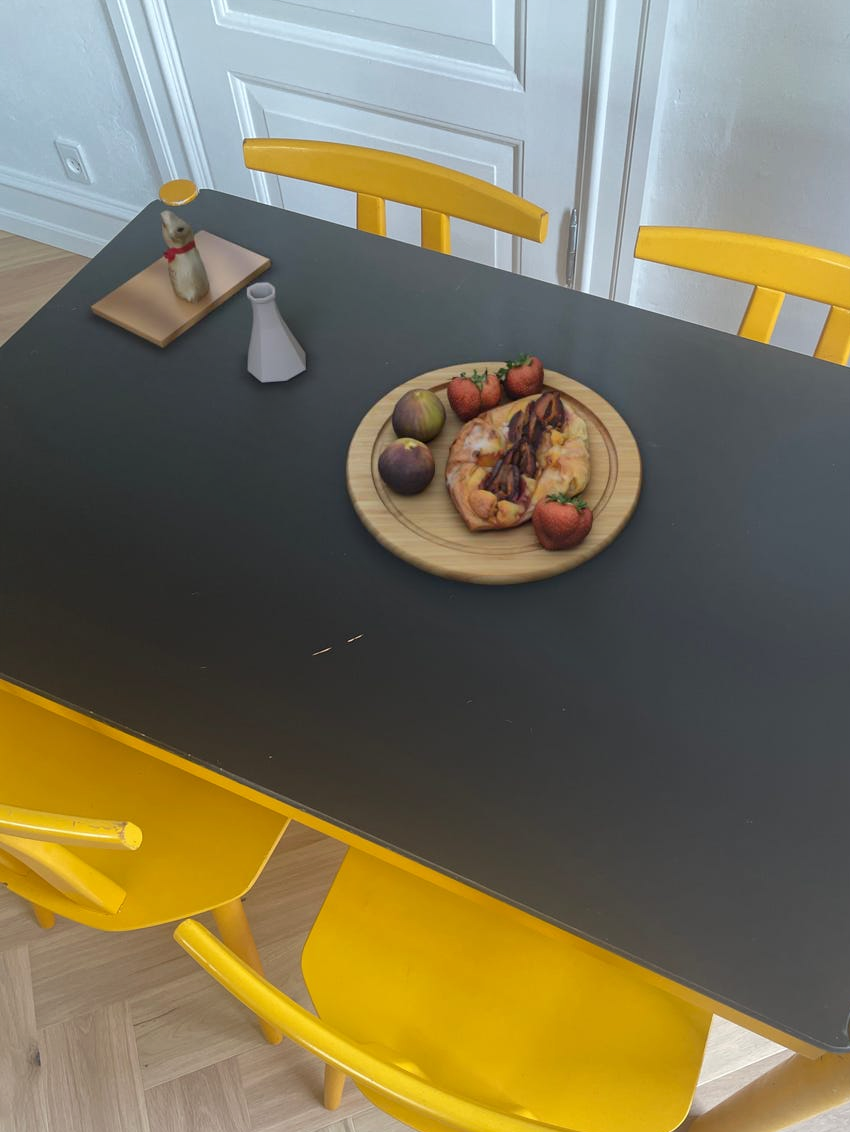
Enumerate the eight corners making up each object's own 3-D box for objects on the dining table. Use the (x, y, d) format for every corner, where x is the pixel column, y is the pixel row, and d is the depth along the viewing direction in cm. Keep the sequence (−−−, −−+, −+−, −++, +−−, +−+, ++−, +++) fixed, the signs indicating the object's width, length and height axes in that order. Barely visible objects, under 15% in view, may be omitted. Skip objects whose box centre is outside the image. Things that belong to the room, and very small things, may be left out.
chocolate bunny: (221, 267, 115) (202, 193, 107) (200, 305, 111) (178, 230, 102) (180, 263, 116) (158, 188, 107) (158, 300, 111) (133, 225, 103)
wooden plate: (687, 552, 91) (705, 497, 84) (383, 622, 86) (376, 569, 79) (581, 355, 108) (589, 295, 101) (322, 403, 103) (311, 344, 96)
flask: (315, 373, 106) (302, 300, 97) (257, 391, 104) (238, 318, 95) (296, 338, 109) (281, 264, 101) (239, 354, 107) (219, 280, 99)
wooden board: (163, 348, 108) (160, 341, 107) (93, 313, 111) (90, 306, 111) (271, 266, 117) (269, 259, 116) (203, 236, 121) (201, 229, 120)
